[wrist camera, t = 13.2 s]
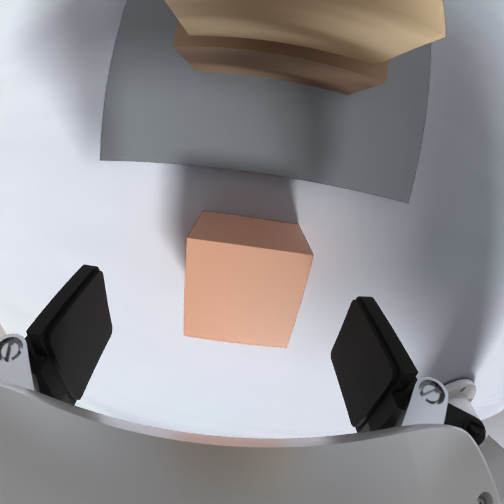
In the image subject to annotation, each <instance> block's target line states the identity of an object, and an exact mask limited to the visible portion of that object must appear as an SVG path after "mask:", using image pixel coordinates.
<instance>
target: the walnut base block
mask: <svg viewBox="0 0 504 504" xmlns="http://www.w3.org/2000/svg"><path fill="white" fill-rule="evenodd" d="M172 47H173V48H174V49H175V50H176V51H177V52H178V53H179V54H180V55H181V56H182V57H183V58H184V59H185V60H186V61H187V62H188V63H189V65H190V66H191V67H192V68H193V69H194V70H195V71H202V72H219V73H231V74H241V75H250V76H258V77H265V78H271V79H278V80H283V81H289V82H294V83H299V84H304V85H309V86H313V87H318V88H322V89H326V90H330V91H334V92H338V93H341V94H345V95H351V94H354V93H357V92H360V91H363V90H366V89H369V88H372V87H375V86H379V85H382V84H385V83H386V82H387V72H388V61H389V60H386V61H384V62H382V63H380V64H378V65H375V66H373V65H370V64H367V63H364V62H361V61H358V60H355V59H351V58H348V57H345V56H341V55H337V54H334V53H330V52H326V51H321V50H317V49H313V48H308V47H303V46H298V45H293V44H287V43H281V42H274V41H267V40H259V39H249V38H238V37H221V36H189V35H188V33H187V32H186V30H185V29H184V27H183V26H182V25H181V23H180V22H179V20H178V23H177V28H176V32H175V37H174V41H173V46H172Z"/></svg>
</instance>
